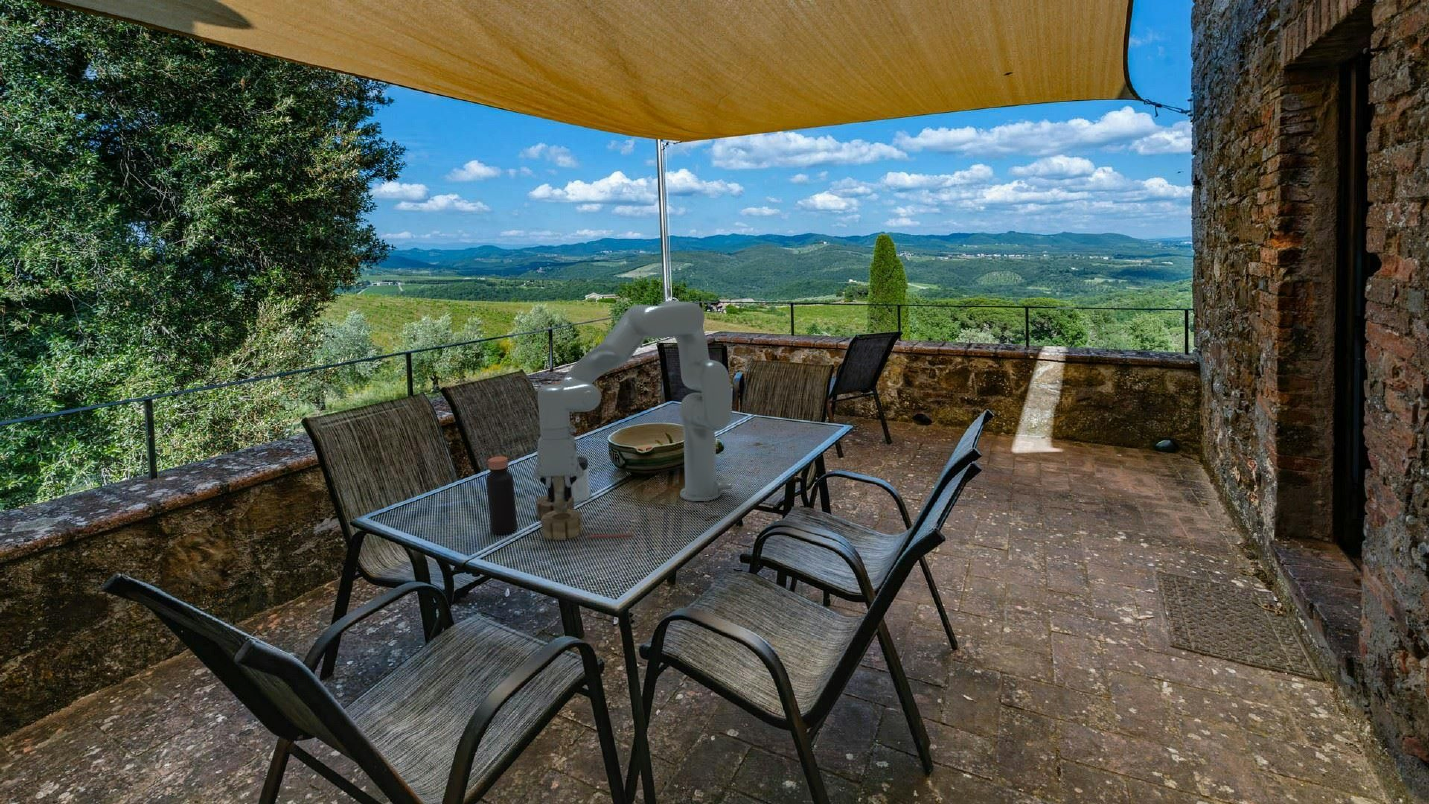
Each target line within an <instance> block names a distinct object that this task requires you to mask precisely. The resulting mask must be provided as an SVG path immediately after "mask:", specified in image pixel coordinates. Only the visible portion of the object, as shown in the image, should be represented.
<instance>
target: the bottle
mask: <svg viewBox="0 0 1429 804" xmlns="http://www.w3.org/2000/svg"><path fill="white" fill-rule="evenodd" d="M487 463H488V470H489V471H490V473H489V474H488V476H486V478H485V483H486V492H487V503H488V514H489V524H490V532H491V533H492V534H493V533H494V534H493V535H496V534H497V536H503V535H502V534H504V535H508V533H509V534H512V533H514V532H515V531H516V530H517V529H518V520H517V518H518V517H517V509H516V499H515V498H516V497H515V487H514V485H515V484H514V476H513V474H512V473H511V472H510V471H508V469H509V459H508V457H507V456H494V457H490V458H488V459H487Z"/></svg>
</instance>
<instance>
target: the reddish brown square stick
mask: <svg viewBox="0 0 1429 804" xmlns="http://www.w3.org/2000/svg"><path fill="white" fill-rule="evenodd" d="M634 535H635V534H634V533H618V534H617V533H616V534H615V533H614V534H593V535H586V539H604V538H606V539H607V538H626V537H628V538H629V537H630V538H631V537H634Z"/></svg>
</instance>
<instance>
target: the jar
mask: <svg viewBox="0 0 1429 804" xmlns="http://www.w3.org/2000/svg"><path fill="white" fill-rule="evenodd" d="M578 462H579V465H580V467H581V468H582V470H583V471H584V476H582V477H581V478H579V479H577V480H576V481H575V482H574V483H573V484H572V485H571V491H572V497H573V498H574V504H575V503H579V502H584V501H588V500H589V499H590V495H591V486H590V471H589V463H588V458H587V457H586V456H585V457H584V456H579V455H578ZM576 474H577V472H576ZM572 476H573V475H572ZM572 476H571V477H572ZM565 484H566V481H565Z"/></svg>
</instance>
